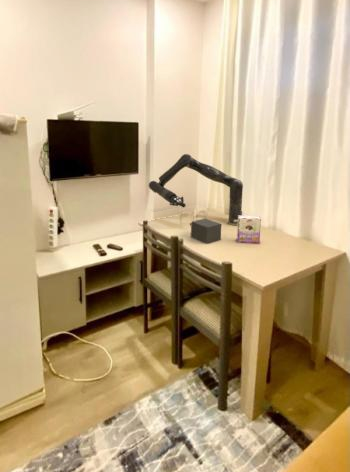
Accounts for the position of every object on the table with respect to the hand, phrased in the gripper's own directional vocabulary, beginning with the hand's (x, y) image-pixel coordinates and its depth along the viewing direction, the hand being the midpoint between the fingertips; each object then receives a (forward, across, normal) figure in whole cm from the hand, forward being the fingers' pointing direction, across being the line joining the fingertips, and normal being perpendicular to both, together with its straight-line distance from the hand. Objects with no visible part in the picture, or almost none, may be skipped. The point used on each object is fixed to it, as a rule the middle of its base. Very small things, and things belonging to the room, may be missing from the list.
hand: (184, 206), depth 224 cm
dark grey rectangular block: (+25, -3, +11) cm, 28 cm away
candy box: (+46, +14, +8) cm, 49 cm away
